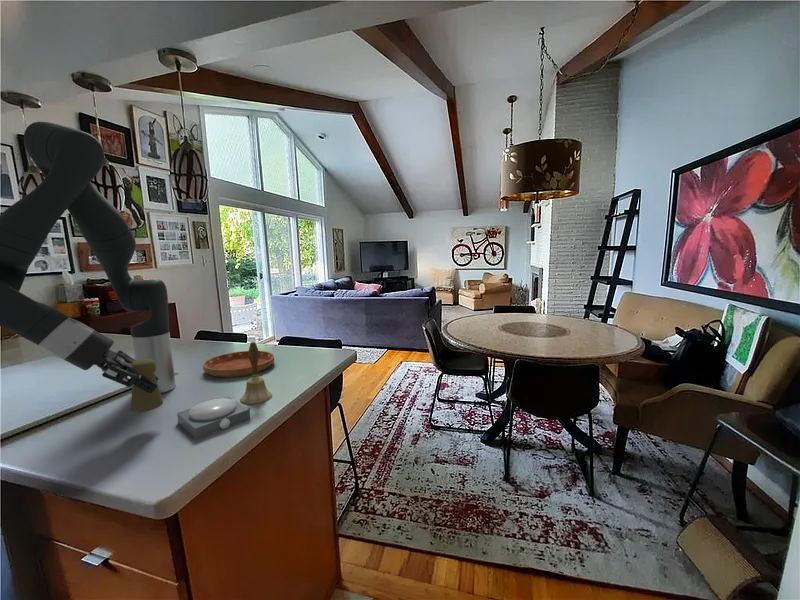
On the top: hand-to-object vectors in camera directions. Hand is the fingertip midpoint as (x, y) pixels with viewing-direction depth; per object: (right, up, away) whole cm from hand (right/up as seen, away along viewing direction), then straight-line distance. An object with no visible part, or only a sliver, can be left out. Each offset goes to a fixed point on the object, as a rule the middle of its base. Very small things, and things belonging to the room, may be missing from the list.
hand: (154, 385), depth 81 cm
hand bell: (+17, -8, +16) cm, 25 cm away
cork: (-2, -5, 0) cm, 5 cm away
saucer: (+1, -5, +42) cm, 43 cm away
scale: (+12, -9, +3) cm, 16 cm away
